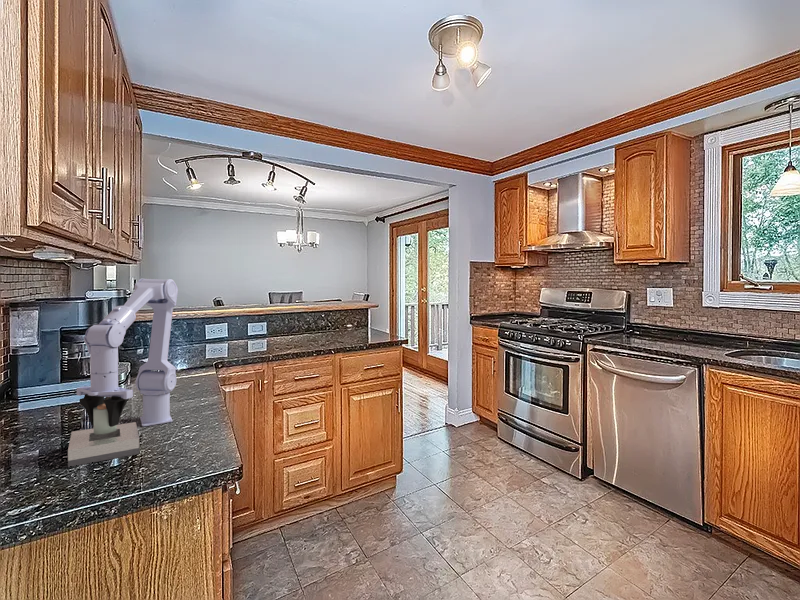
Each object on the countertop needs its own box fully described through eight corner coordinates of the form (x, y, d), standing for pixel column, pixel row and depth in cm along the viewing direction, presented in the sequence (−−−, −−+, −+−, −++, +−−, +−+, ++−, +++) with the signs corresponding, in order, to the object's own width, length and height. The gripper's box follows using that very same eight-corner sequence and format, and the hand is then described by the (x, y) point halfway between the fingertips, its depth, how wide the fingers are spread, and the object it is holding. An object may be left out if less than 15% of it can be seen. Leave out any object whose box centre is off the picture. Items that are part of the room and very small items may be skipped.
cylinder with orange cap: (106, 426, 108) (106, 401, 108) (121, 428, 107) (121, 403, 107) (88, 433, 103) (88, 407, 103) (103, 435, 102) (103, 409, 102)
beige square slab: (71, 446, 107) (71, 431, 107) (135, 436, 115) (135, 422, 115) (68, 467, 95) (67, 450, 95) (139, 453, 104) (139, 438, 103)
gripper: (64, 373, 102) (65, 427, 102) (116, 376, 99) (116, 432, 100) (90, 367, 109) (91, 418, 109) (139, 370, 106) (139, 422, 107)
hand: (104, 424), depth 105 cm, fingers closed on cylinder with orange cap, 5 cm apart
